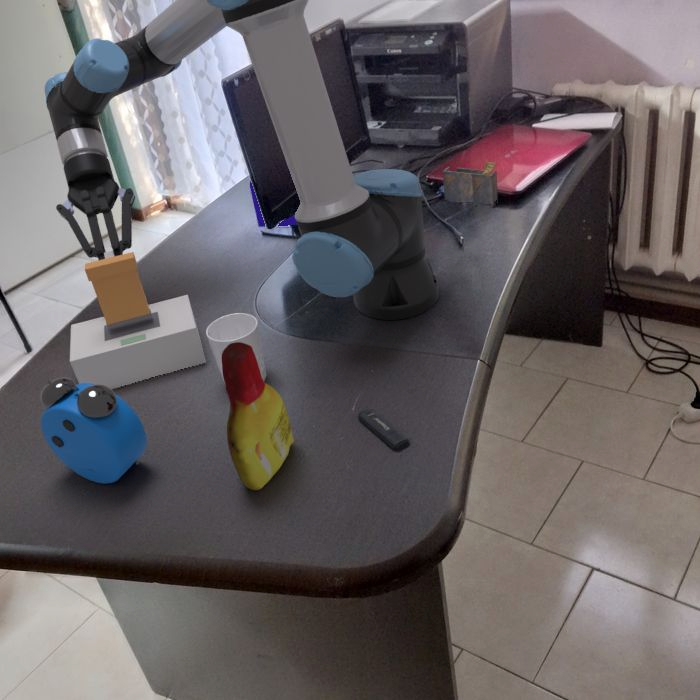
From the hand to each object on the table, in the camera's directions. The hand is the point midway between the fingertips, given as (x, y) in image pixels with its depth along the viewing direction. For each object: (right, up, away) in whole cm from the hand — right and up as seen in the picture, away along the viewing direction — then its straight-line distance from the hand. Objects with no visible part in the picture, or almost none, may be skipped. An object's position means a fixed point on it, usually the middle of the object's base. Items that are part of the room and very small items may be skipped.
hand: (119, 290), depth 120 cm
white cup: (+21, -15, -4) cm, 26 cm away
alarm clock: (+4, -27, -18) cm, 32 cm away
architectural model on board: (+64, +22, +41) cm, 79 cm away
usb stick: (+42, -21, -18) cm, 51 cm away
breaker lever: (+2, -5, 0) cm, 5 cm away
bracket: (+25, +23, +50) cm, 61 cm away
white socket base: (+3, -12, +5) cm, 13 cm away
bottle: (+27, -26, -21) cm, 43 cm away
